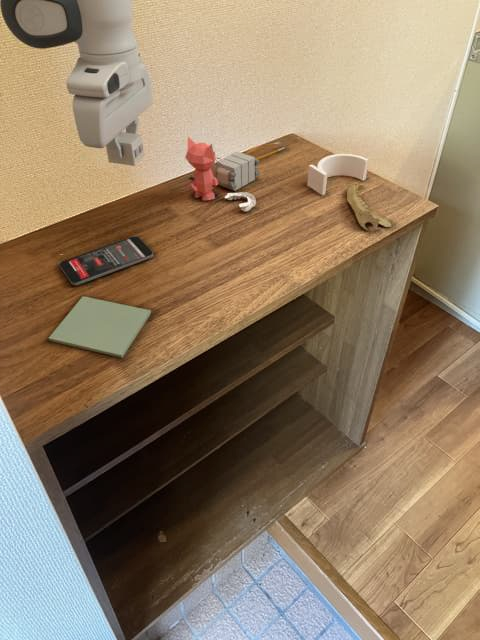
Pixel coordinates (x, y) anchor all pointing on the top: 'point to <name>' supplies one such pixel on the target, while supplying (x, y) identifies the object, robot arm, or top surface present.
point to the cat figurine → (202, 169)
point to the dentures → (240, 195)
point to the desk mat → (101, 326)
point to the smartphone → (105, 260)
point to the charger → (128, 149)
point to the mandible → (363, 209)
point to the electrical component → (239, 169)
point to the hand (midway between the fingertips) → (125, 150)
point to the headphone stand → (336, 170)
